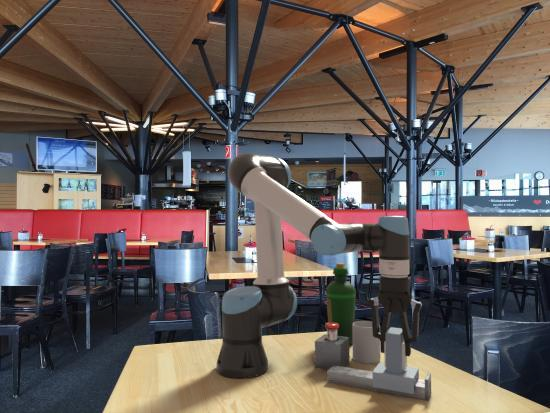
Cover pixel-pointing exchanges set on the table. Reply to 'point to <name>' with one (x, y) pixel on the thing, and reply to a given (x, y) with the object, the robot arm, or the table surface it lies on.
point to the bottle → (341, 302)
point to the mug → (365, 343)
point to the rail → (365, 381)
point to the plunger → (332, 331)
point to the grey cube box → (331, 352)
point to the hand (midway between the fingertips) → (395, 366)
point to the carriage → (395, 366)
